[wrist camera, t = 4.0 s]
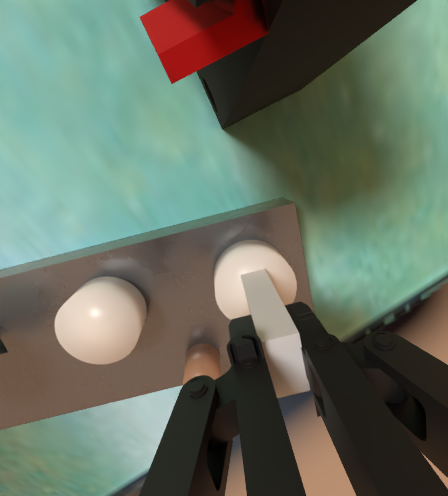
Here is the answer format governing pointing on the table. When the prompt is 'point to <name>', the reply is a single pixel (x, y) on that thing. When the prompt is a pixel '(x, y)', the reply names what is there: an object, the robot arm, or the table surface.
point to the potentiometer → (202, 362)
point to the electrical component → (260, 44)
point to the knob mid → (101, 320)
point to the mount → (157, 301)
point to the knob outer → (245, 261)
